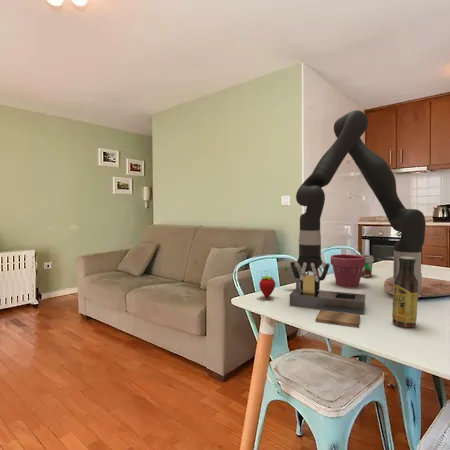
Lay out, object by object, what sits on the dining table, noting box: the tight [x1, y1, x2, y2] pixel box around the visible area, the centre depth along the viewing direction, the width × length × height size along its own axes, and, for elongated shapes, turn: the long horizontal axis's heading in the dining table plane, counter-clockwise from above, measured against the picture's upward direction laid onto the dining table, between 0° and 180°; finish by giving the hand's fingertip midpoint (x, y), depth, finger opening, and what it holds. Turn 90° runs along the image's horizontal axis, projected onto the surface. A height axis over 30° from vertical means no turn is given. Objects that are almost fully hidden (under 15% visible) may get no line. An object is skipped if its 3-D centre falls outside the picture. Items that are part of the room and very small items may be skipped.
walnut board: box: [315, 309, 361, 328], centre depth 100 cm, size 12×9×1 cm
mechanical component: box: [284, 265, 310, 289], centre depth 134 cm, size 3×10×10 cm, turn 78°
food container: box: [355, 253, 375, 279], centre depth 160 cm, size 12×6×10 cm, turn 179°
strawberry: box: [258, 273, 276, 299], centre depth 123 cm, size 6×8×10 cm
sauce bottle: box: [391, 257, 419, 328], centre depth 94 cm, size 7×6×20 cm
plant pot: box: [330, 253, 365, 289], centre depth 142 cm, size 14×14×13 cm
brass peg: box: [303, 274, 316, 296], centre depth 116 cm, size 4×4×10 cm
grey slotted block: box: [289, 287, 366, 315], centre depth 113 cm, size 24×10×4 cm, turn 65°
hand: (309, 290), depth 116 cm, fingers closed on brass peg, 4 cm apart
